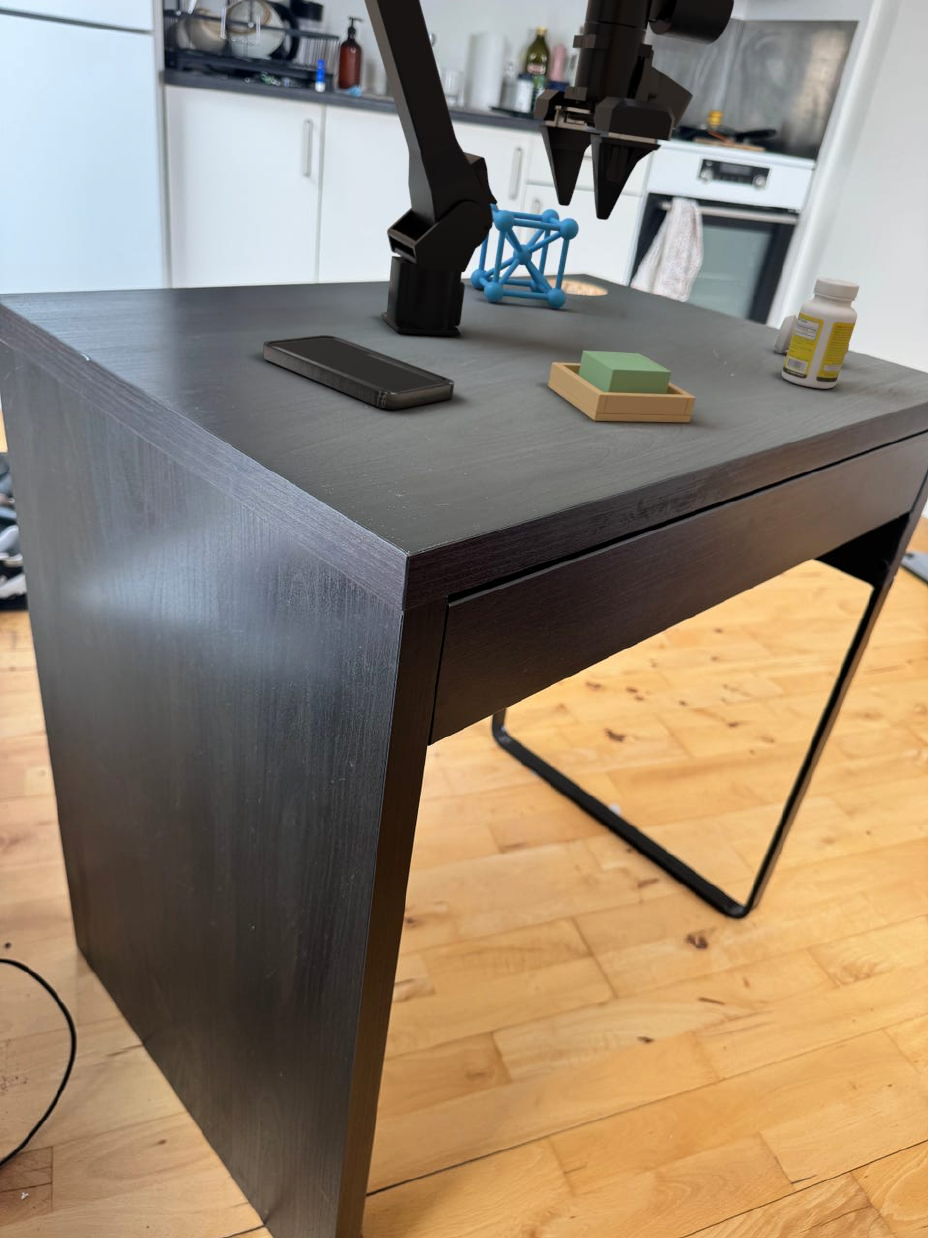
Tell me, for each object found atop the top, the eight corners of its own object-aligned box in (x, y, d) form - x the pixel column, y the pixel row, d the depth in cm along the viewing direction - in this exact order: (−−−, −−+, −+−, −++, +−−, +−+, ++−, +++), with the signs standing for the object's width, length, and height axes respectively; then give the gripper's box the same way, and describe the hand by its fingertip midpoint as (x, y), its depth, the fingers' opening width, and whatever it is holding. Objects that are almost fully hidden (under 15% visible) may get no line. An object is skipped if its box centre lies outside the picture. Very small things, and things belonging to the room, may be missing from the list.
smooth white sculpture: (842, 374, 104) (838, 366, 100) (773, 355, 108) (766, 347, 103) (857, 336, 103) (854, 327, 99) (788, 318, 107) (781, 308, 102)
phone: (388, 395, 66) (257, 341, 73) (387, 411, 66) (257, 355, 74) (461, 382, 71) (331, 333, 79) (459, 397, 72) (331, 346, 79)
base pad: (594, 420, 71) (599, 394, 70) (547, 386, 78) (552, 361, 77) (689, 422, 75) (696, 397, 74) (636, 389, 82) (642, 365, 80)
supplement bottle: (833, 381, 95) (866, 283, 90) (834, 393, 90) (869, 290, 86) (780, 370, 96) (810, 272, 91) (779, 381, 92) (810, 279, 87)
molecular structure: (566, 311, 109) (583, 220, 104) (485, 303, 106) (498, 209, 102) (543, 293, 117) (557, 208, 112) (467, 285, 115) (479, 198, 110)
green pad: (605, 406, 73) (613, 368, 72) (575, 385, 77) (582, 350, 76) (663, 407, 75) (672, 371, 74) (631, 387, 79) (639, 352, 78)
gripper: (746, 41, 79) (700, 235, 86) (645, 41, 94) (613, 206, 101) (632, 19, 75) (594, 224, 83) (545, 22, 90) (520, 196, 98)
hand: (582, 211), depth 91 cm, fingers open, 9 cm apart
